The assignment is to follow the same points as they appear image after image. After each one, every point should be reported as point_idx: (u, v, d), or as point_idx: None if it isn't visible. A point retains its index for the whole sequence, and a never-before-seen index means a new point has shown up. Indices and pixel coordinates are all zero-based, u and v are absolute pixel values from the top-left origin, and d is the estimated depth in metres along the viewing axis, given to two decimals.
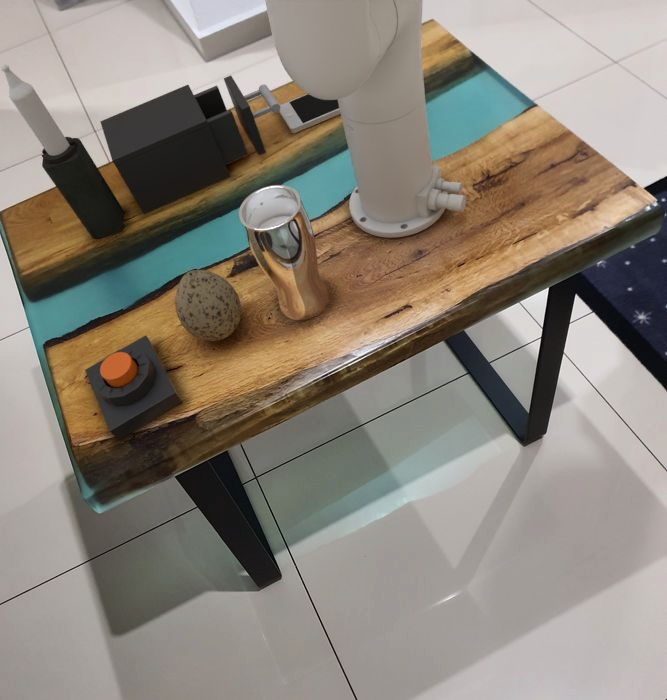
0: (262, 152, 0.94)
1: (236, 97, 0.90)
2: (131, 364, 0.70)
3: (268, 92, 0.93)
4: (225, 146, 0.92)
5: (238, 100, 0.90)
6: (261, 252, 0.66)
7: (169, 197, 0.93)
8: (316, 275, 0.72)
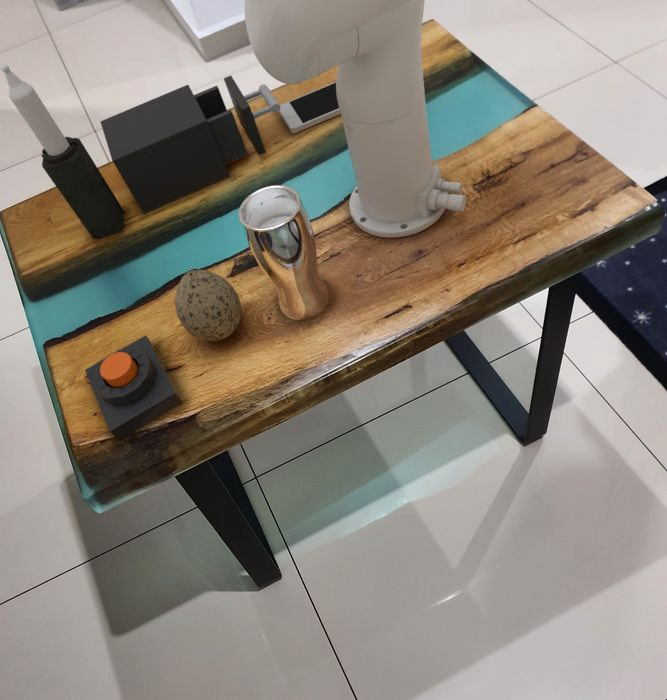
0: (262, 152, 0.94)
1: (236, 97, 0.90)
2: (131, 364, 0.70)
3: (268, 92, 0.93)
4: (225, 146, 0.92)
5: (238, 100, 0.90)
6: (261, 252, 0.66)
7: (169, 197, 0.93)
8: (316, 275, 0.72)
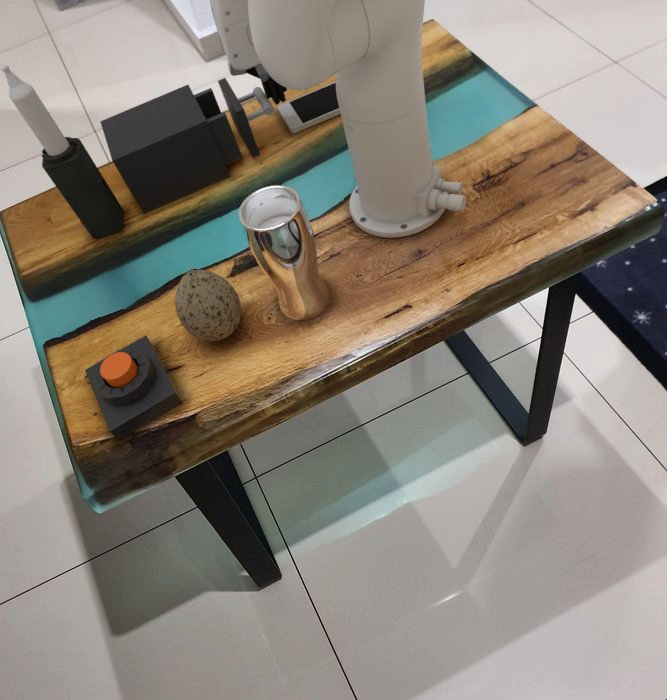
0: (256, 154, 0.94)
1: (230, 99, 0.90)
2: (131, 364, 0.70)
3: (262, 94, 0.93)
4: (219, 149, 0.92)
5: (232, 103, 0.90)
6: (261, 252, 0.66)
7: (169, 197, 0.93)
8: (316, 275, 0.72)
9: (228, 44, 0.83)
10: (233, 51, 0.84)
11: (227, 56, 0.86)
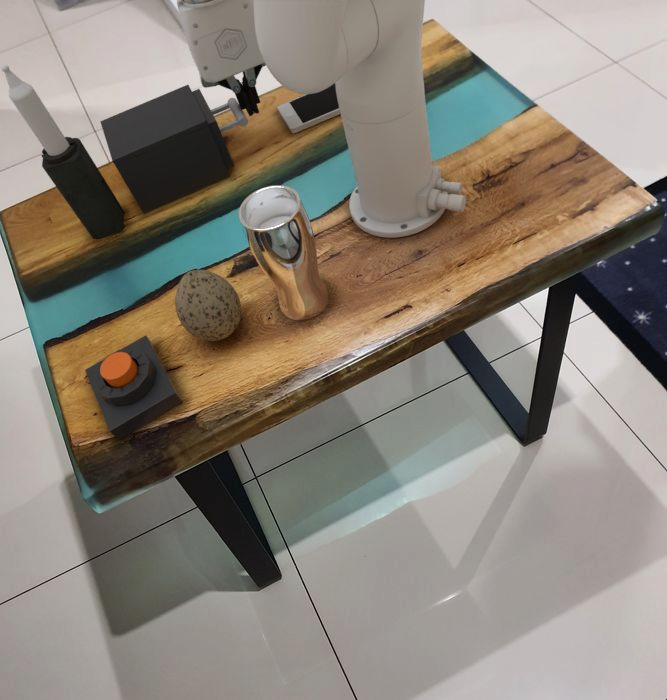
0: (230, 166, 0.94)
1: (203, 111, 0.90)
2: (131, 364, 0.70)
3: (236, 106, 0.93)
4: None
5: (205, 114, 0.89)
6: (261, 252, 0.66)
7: (169, 197, 0.93)
8: (316, 275, 0.72)
9: (197, 56, 0.83)
10: (203, 63, 0.84)
11: (197, 68, 0.85)
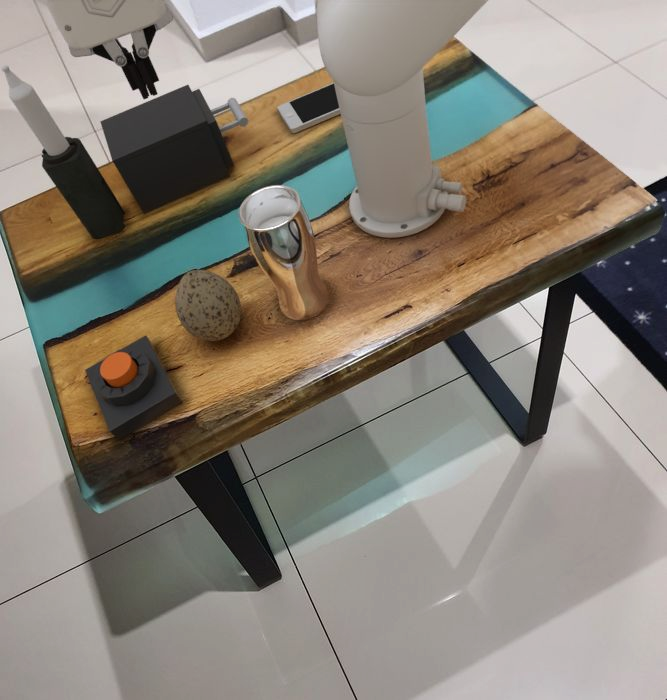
0: (230, 166, 0.94)
1: (203, 111, 0.90)
2: (131, 364, 0.70)
3: (236, 106, 0.93)
4: None
5: (205, 114, 0.89)
6: (261, 252, 0.66)
7: (169, 197, 0.93)
8: (316, 275, 0.72)
9: (54, 11, 0.59)
10: (63, 21, 0.59)
11: None
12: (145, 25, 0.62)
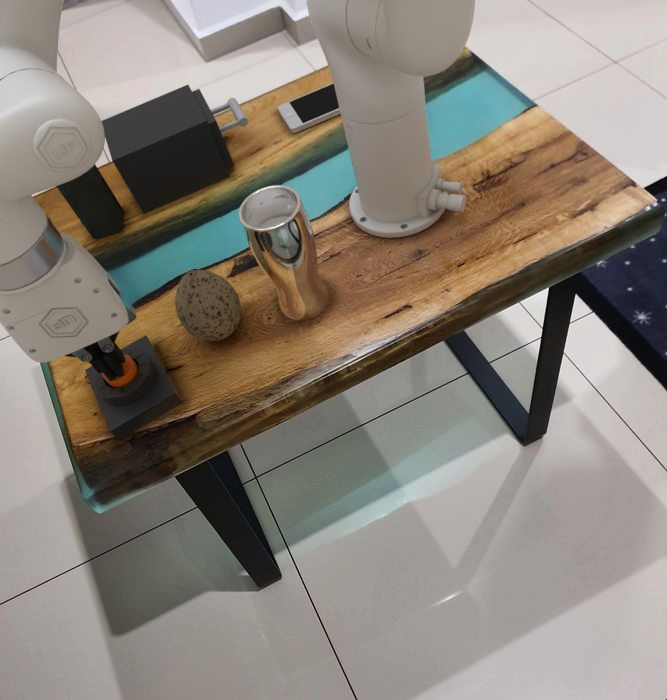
0: (230, 166, 0.94)
1: (203, 111, 0.90)
2: (133, 366, 0.71)
3: (236, 106, 0.93)
4: None
5: (205, 114, 0.89)
6: (261, 252, 0.66)
7: (169, 197, 0.93)
8: (316, 275, 0.72)
9: (18, 340, 0.60)
10: (27, 347, 0.61)
11: None
12: (108, 335, 0.63)
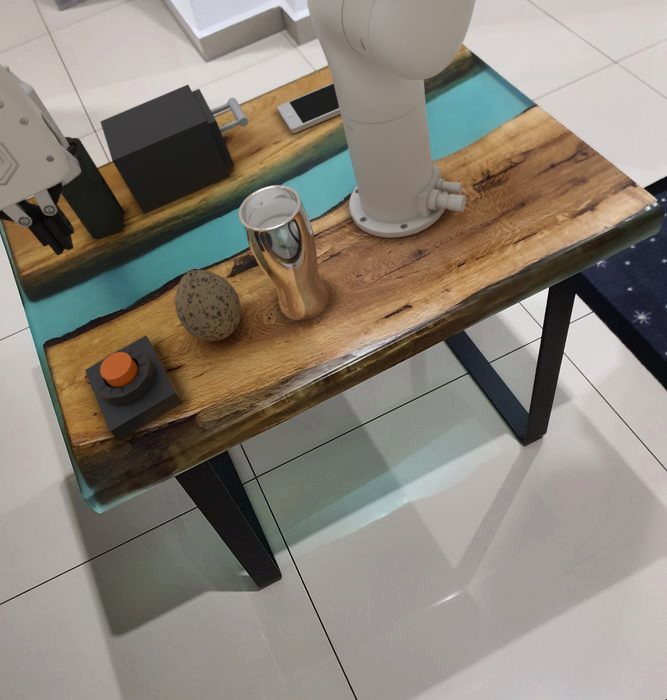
0: (230, 166, 0.94)
1: (203, 111, 0.90)
2: (131, 364, 0.70)
3: (236, 106, 0.93)
4: None
5: (205, 114, 0.89)
6: (261, 252, 0.66)
7: (169, 197, 0.93)
8: (316, 275, 0.72)
9: None
10: None
11: None
12: (46, 187, 0.54)
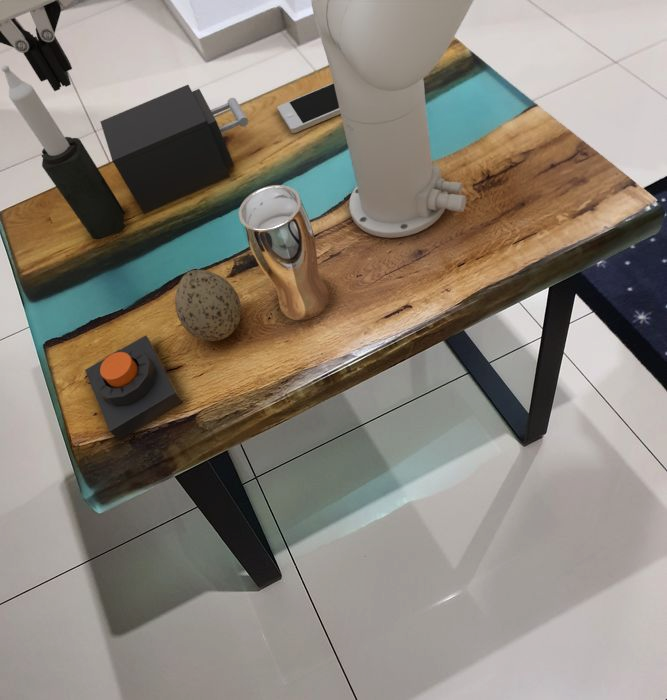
0: (230, 166, 0.94)
1: (203, 111, 0.90)
2: (131, 364, 0.70)
3: (236, 106, 0.93)
4: None
5: (205, 114, 0.89)
6: (261, 252, 0.66)
7: (169, 197, 0.93)
8: (316, 275, 0.72)
9: None
10: None
11: None
12: (44, 2, 0.53)
